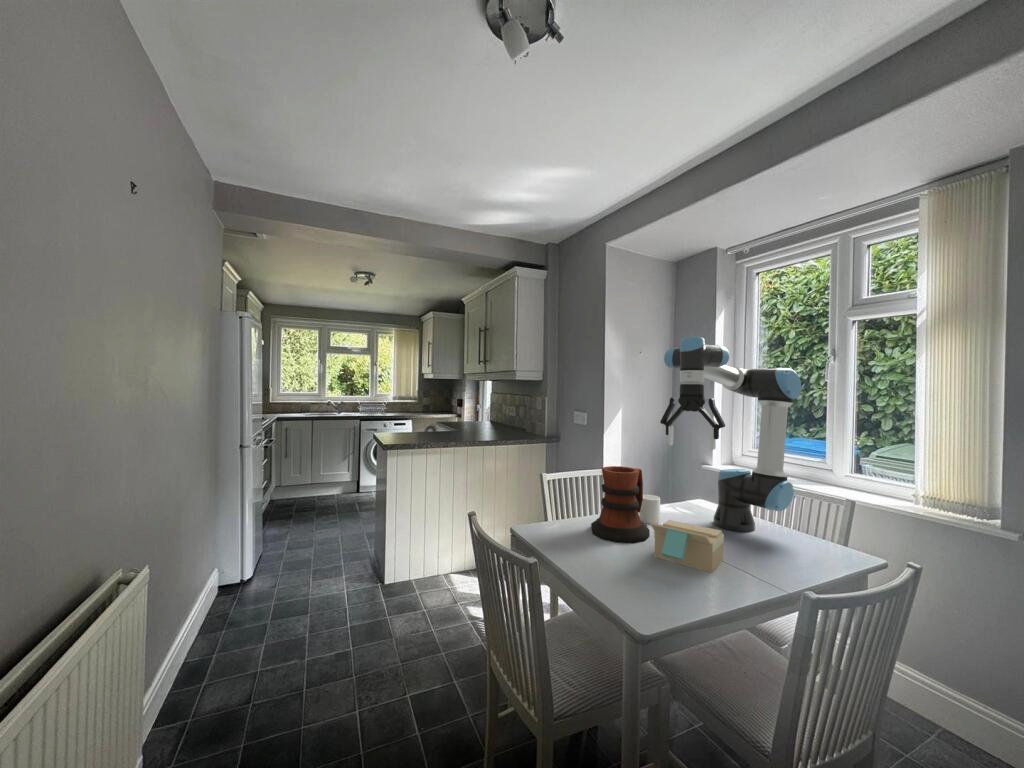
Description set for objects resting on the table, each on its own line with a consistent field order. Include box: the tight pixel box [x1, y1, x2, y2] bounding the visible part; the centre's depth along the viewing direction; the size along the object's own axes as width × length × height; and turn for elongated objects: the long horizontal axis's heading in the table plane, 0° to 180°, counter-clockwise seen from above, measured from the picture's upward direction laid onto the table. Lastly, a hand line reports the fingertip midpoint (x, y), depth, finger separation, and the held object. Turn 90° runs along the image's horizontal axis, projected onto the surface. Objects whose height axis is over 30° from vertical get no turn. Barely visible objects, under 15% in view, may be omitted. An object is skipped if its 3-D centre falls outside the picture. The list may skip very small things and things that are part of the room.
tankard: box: [590, 465, 651, 544], centre depth 165 cm, size 22×25×25 cm
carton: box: [653, 519, 725, 574], centre depth 140 cm, size 12×18×10 cm, turn 50°
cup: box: [638, 494, 661, 525], centre depth 180 cm, size 8×12×10 cm
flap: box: [649, 523, 711, 561], centre depth 131 cm, size 6×17×9 cm
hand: (691, 447), depth 141 cm, fingers open, 13 cm apart
